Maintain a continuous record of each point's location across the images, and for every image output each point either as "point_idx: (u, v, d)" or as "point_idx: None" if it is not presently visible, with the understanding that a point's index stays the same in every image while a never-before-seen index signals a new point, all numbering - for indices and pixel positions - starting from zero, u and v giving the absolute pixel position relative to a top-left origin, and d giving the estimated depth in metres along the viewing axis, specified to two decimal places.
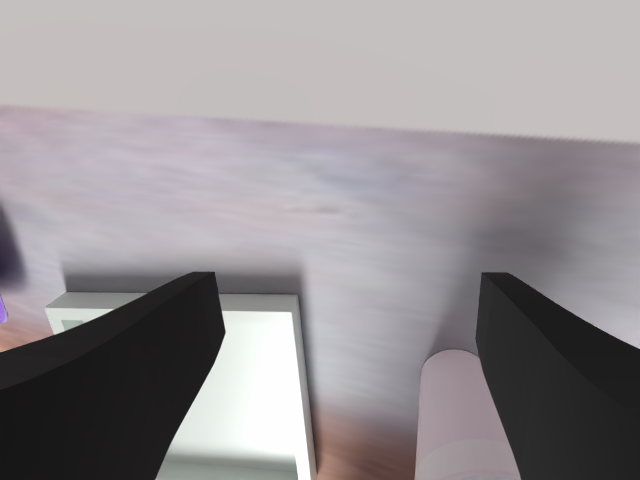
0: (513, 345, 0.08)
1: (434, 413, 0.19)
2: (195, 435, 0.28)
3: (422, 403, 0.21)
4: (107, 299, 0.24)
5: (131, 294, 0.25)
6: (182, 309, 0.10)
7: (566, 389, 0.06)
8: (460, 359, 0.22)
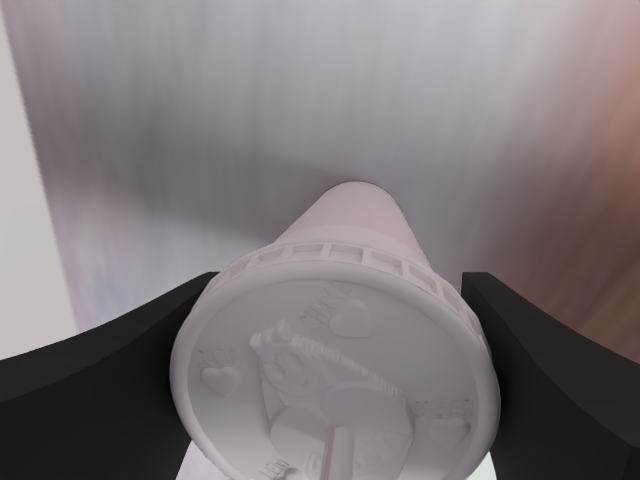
0: (489, 344, 0.08)
1: None
2: None
3: None
4: None
5: None
6: None
7: (532, 388, 0.06)
8: None
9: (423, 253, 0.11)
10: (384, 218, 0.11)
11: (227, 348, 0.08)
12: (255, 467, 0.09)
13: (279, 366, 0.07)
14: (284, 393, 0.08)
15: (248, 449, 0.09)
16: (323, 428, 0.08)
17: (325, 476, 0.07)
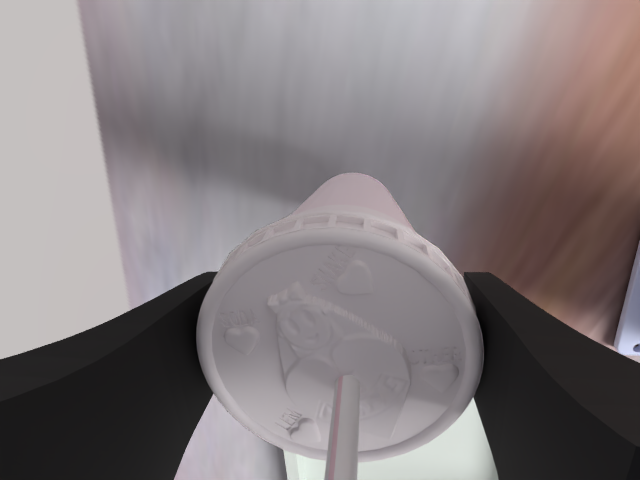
0: (491, 344, 0.08)
1: None
2: (459, 450, 0.26)
3: None
4: None
5: None
6: (198, 309, 0.10)
7: (535, 388, 0.06)
8: None
9: None
10: (379, 201, 0.12)
11: (247, 309, 0.09)
12: (271, 419, 0.10)
13: (294, 322, 0.09)
14: (298, 347, 0.09)
15: (265, 402, 0.10)
16: (332, 377, 0.09)
17: (336, 412, 0.08)
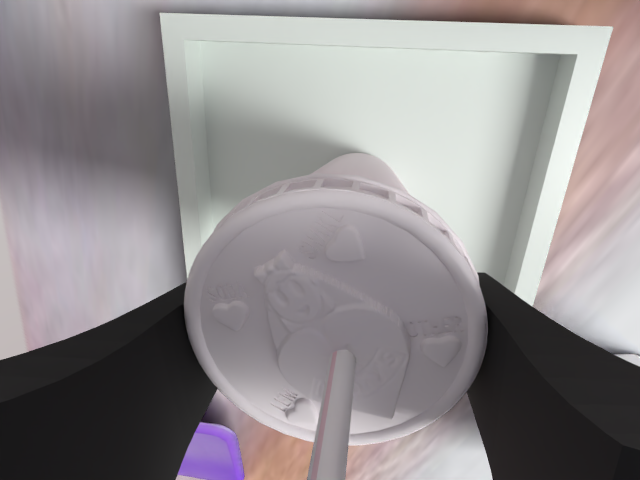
0: None
1: None
2: None
3: None
4: None
5: None
6: None
7: (527, 387, 0.06)
8: None
9: None
10: (378, 173, 0.12)
11: (234, 282, 0.08)
12: (267, 400, 0.10)
13: (282, 293, 0.08)
14: (288, 320, 0.08)
15: (259, 382, 0.09)
16: (326, 352, 0.08)
17: (328, 386, 0.07)
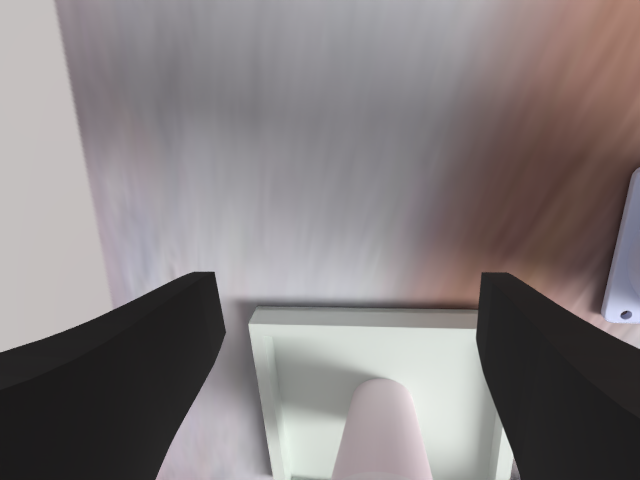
0: (513, 345, 0.08)
1: None
2: (444, 426, 0.25)
3: None
4: None
5: None
6: (183, 309, 0.10)
7: (566, 389, 0.06)
8: None
9: (422, 463, 0.19)
10: (397, 446, 0.20)
11: None
12: None
13: None
14: None
15: None
16: None
17: None
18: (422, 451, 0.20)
